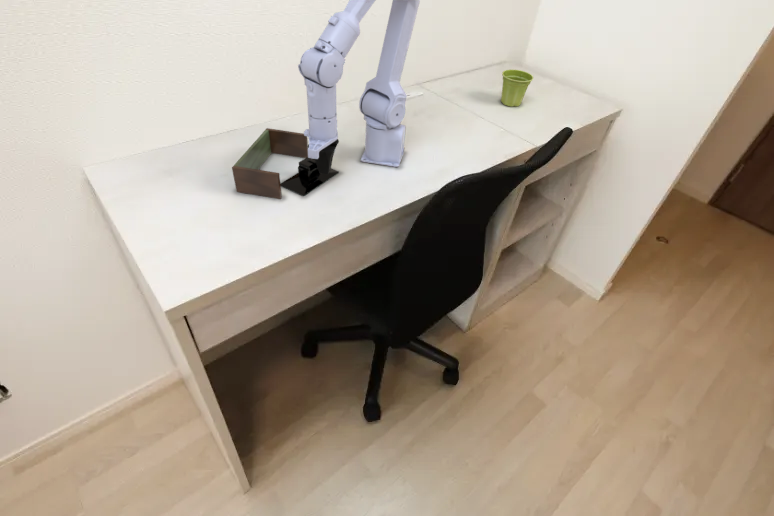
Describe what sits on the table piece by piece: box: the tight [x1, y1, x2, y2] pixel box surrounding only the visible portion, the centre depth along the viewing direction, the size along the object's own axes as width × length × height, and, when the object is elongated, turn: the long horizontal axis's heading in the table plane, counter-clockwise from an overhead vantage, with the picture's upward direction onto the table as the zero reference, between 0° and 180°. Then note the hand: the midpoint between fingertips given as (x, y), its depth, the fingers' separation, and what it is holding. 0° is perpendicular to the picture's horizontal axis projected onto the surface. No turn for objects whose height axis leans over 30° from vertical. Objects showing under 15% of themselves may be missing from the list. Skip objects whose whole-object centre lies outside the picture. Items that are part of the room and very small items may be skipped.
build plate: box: [280, 157, 340, 197], centre depth 99 cm, size 12×7×5 cm, turn 147°
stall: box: [231, 127, 309, 200], centre depth 100 cm, size 10×19×6 cm, turn 169°
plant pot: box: [500, 69, 534, 107], centre depth 137 cm, size 9×9×9 cm
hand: (324, 172), depth 99 cm, fingers closed
